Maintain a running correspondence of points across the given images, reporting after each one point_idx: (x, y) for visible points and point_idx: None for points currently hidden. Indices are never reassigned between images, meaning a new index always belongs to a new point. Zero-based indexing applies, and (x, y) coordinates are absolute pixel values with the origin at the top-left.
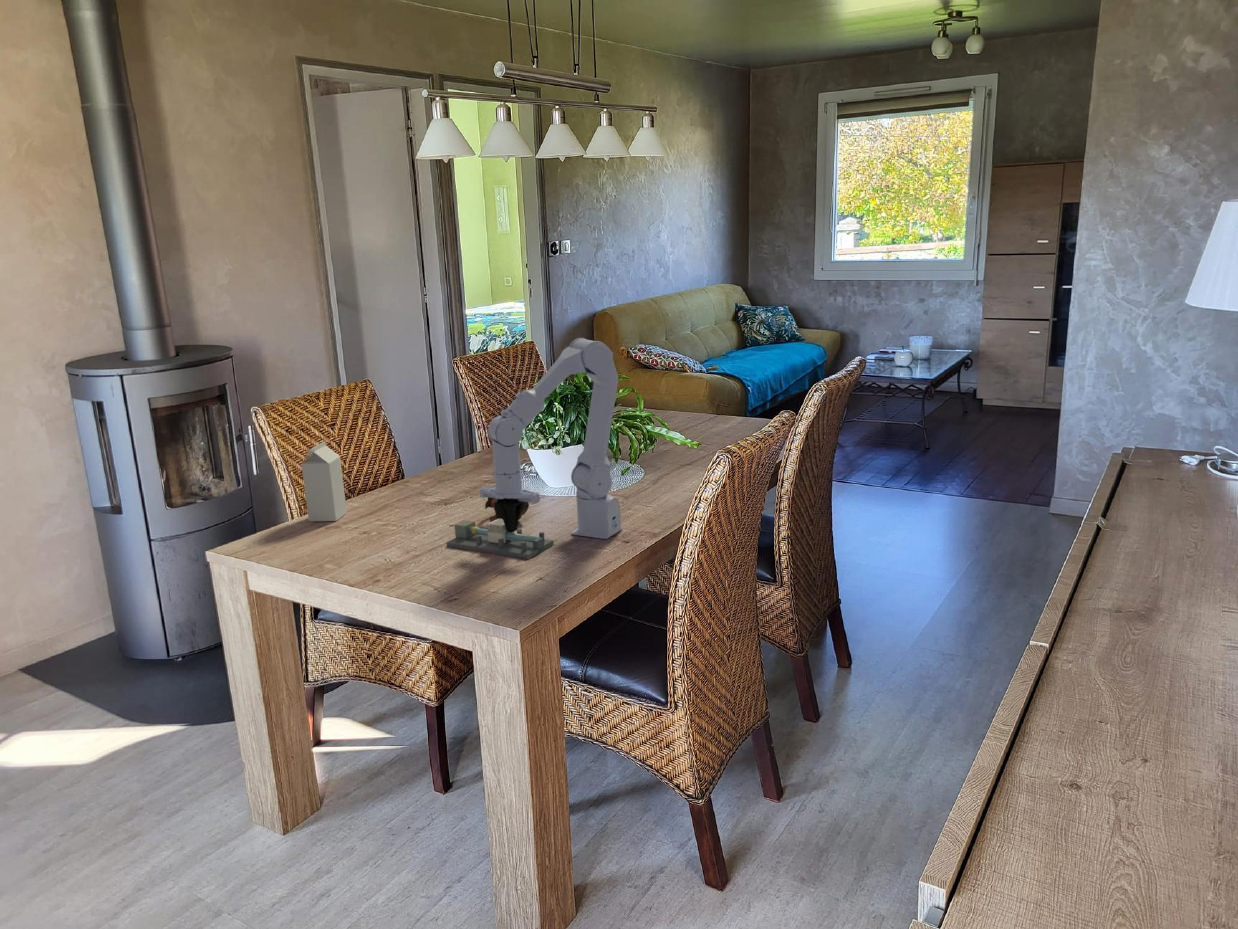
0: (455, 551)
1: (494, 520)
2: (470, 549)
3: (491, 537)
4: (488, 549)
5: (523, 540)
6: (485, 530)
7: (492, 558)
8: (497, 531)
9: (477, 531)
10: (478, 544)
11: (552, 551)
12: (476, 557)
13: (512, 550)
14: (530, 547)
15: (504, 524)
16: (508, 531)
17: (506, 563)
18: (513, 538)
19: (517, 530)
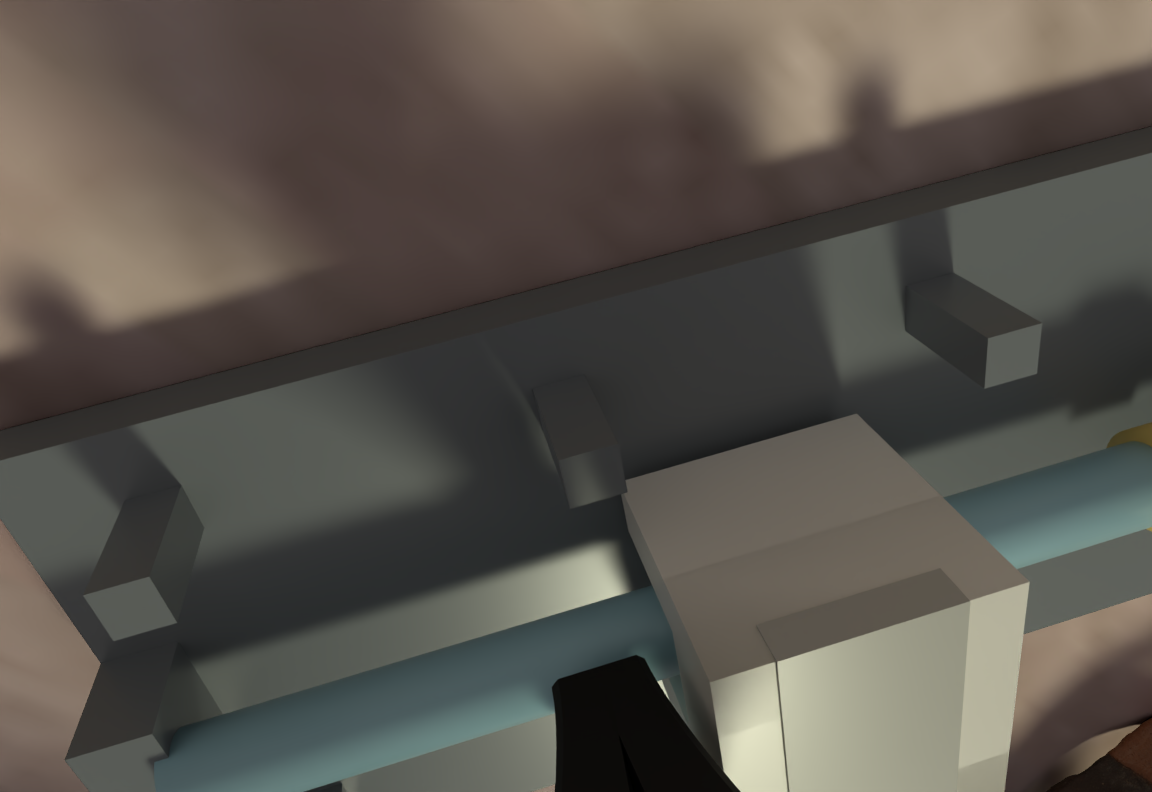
0: (1143, 6)
1: (1007, 730)
2: (981, 174)
3: (835, 466)
4: (700, 268)
5: (367, 673)
6: (1033, 530)
7: (466, 135)
8: (764, 570)
9: (1135, 464)
10: (931, 283)
11: (61, 746)
12: (711, 12)
13: (340, 436)
14: (246, 637)
15: (727, 744)
16: (611, 671)
17: (75, 114)
18: (536, 627)
19: None
